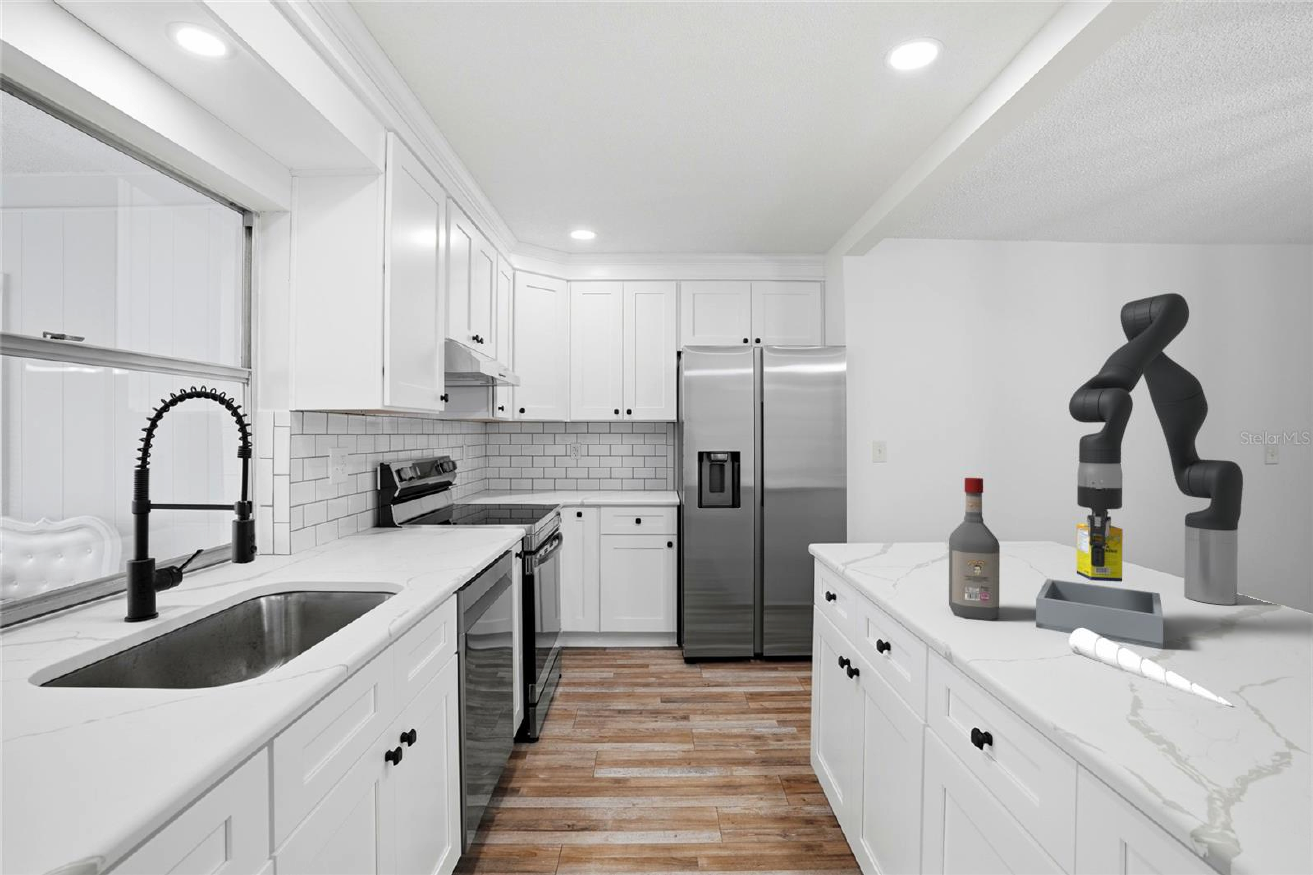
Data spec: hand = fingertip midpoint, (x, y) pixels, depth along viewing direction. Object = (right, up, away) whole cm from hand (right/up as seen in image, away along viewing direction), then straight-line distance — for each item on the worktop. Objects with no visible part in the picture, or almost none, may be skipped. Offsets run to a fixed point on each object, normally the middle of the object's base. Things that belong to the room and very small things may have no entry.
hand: (1098, 562), depth 125 cm
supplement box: (0, -3, 0) cm, 3 cm away
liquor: (-22, -13, +8) cm, 27 cm away
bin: (0, -13, 0) cm, 13 cm away
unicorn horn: (-11, -14, -25) cm, 30 cm away
